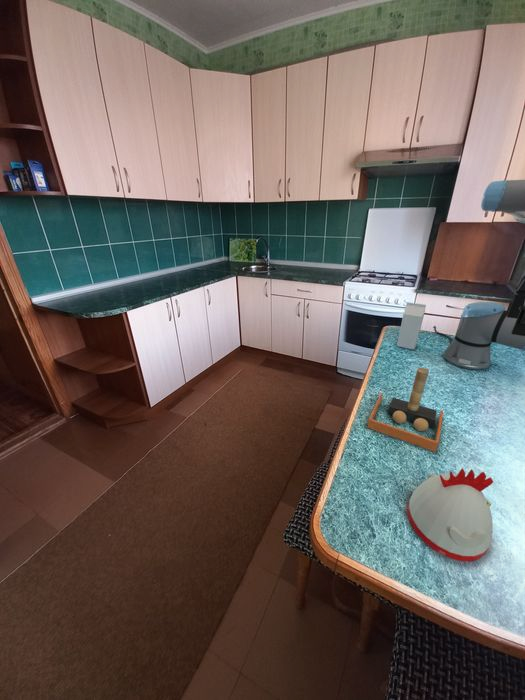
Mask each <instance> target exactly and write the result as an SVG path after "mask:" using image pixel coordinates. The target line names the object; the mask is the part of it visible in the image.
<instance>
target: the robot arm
mask: <svg viewBox="0 0 525 700" xmlns="http://www.w3.org/2000/svg"><path fill="white" fill-rule="evenodd" d="M480 207H481V210H482V211H484V212H491V213H496V212H501V213H505V214H507V215H510V216H512V217H513V219H514V220H515V221H516V222H518V223H520V224H522V225H523V224H524V225H525V179H508V180H507V179H503V180H495V181H491V182H490V183H489V184H488V185H487V186H486V188H485V190H484V192H483V194H482V198H481V205H480ZM523 258H525V252H524V253H523ZM432 328H433V331H434V332H435V334H437V335H440V336H443V337H446V338H447V339H449V345H448V346H447V347H446V349H445V350H444V353H443V358H444V360H445V361H447V362H448V363H449V364H452V365H454V366H456V367H458V368H462V369H467V370H472V371H473V370H474V371H482V370H486V369H489V367H490V365H491V361H492V360H491V359H492V356H491V345H492V343H495V344H498V345H501V346H505V347H510V348H513V349H517V350H521V351H522V352H525V270H524V271H523V273H522V276H521V278H520V280H519V281H518V284H517V285H516V287H515V294H514V297H513V299H512V302H511V304H510V307H509V309H508V310H506V306H505V305H504V304H502V303H500V302H499V303H498V302H491V301H476V302H471V303H468V304H466V305H465V306H464V308H463V311H462V313H461V314H460V319H459V322H458V325H457V329H456V331H455V336H454V338H452V337H451V336H450V335H447V334H444V333H442V332H439V331H437V326H436V325H434V326H433V327H432Z"/></svg>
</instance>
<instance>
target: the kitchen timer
mask: <svg viewBox="0 0 525 700" xmlns="http://www.w3.org/2000/svg"><path fill="white" fill-rule="evenodd" d="M475 476H476V475H475V472H474V469H470V470H469V472H468V473H467V474H466V470H465V469H464V468H463V467H462V468H461V469H460V470H459V472H458V473H454V472H452V470H451V471H449V473H440V474H435V473H429V474H428V475H427V479H426V480H424V481H423V482H422V483H421V484H419V485H418V486H417V487H416V488H415V489H414V491H413V492H412V494H411V496H410V498H409V500H408V503H407V510H406V511H407V517H408V520H409V523H410V525H411V526H412V528H413V530H414V532H415V533H416V534H417V536H418V537H419V538H420V539H421V541H423V543H425V544H426V545H427V546H429V547H430V548H431V549H432V550H434V551H435V552H437V553H438V554H440V555H442V556H444V557H445V558H449V559H452V560H455V561H459V562H474V561H478V560H480V559H482V557H483V556H484V555H485V554H486V553H487V551H488V550H489V548H490V546H491V542H492V538H493V529H494V528H493V516H492V511H491V505H492V503H490V501H489V500H488V499H487V498H486V496H485V495H484V493H483V491H484V490H485V489H487V488H488V487H490V486H491V485H492V484H493V483H494V480H493V479H492V476H490V477H488V478H487V475H486V473H485V471H481V472H480V473H478V475H477V476H476V477H475Z"/></svg>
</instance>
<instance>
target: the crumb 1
mask: <svg viewBox="0 0 525 700" xmlns="http://www.w3.org/2000/svg"><path fill="white" fill-rule="evenodd" d="M392 420H393V421H394V422H395V423H396V424H403V423H405V422H406V421H407V420H406V414H405V413H404V412H402V411H396V412H394V413H393V416H392Z"/></svg>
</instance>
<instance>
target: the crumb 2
mask: <svg viewBox="0 0 525 700" xmlns="http://www.w3.org/2000/svg"><path fill="white" fill-rule="evenodd" d="M428 426H429V425H428V422H427V421H426V420H425V419H423V418H418V419H416V420H415V421H414V422H413V427H414V429H415V430H417V431H418V432H425V431H427V430H428V429H429V427H428Z"/></svg>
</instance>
